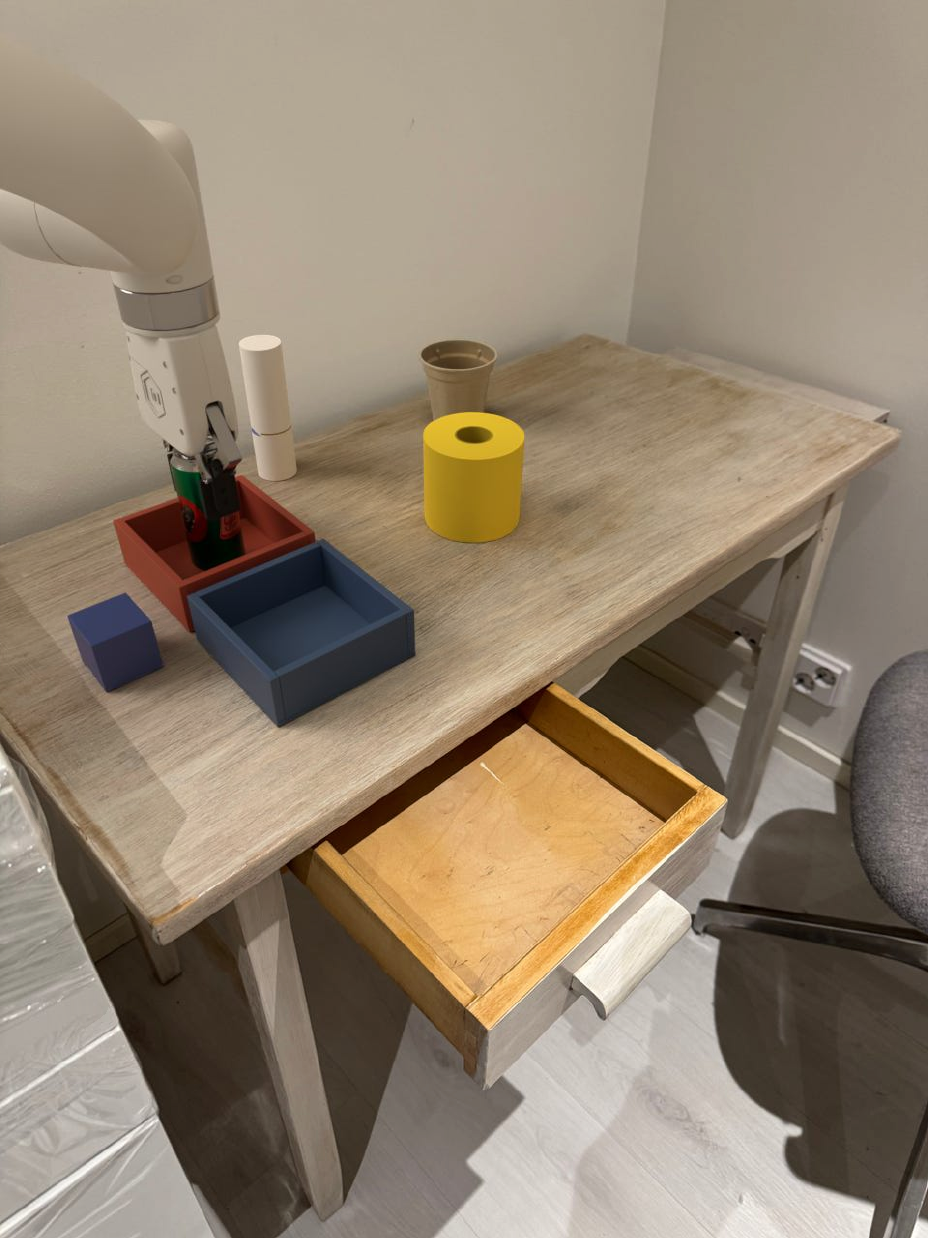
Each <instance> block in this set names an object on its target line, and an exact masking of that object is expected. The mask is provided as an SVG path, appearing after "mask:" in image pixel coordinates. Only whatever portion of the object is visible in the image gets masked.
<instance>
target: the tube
mask: <svg viewBox="0 0 928 1238" xmlns="http://www.w3.org/2000/svg"><path fill="white" fill-rule="evenodd" d="M238 350H239V356H240V362H241V369H242V376H243V382H244V389H245V394H246V401H247V408H248V415H249V421H250V426H251V427H250V428H251V435H252V440H253V447H254V448H253V449H254V453H255V461H256V467H257V473H258V476H259V478H261V479H263V480H264V481H269V482H281V481H285V480H288V479H290V478H292V477H294V476H295V475H296V474H297V471H298V469H297V461H296V451H295V445H294V436H293V428H292V420H291V419H292V418H291V412H290V411H291V410H290V403H289V395H288V387H287V378H286V371H285V370H286V369H285V362H284V354H283V347H282V339H280V338H279V337H278V336H276V335H272V334H255V335H254V334H253V335H249V336H246V337H243V338H242V339H240V340H239V342H238Z"/></svg>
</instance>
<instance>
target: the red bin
mask: <svg viewBox="0 0 928 1238" xmlns="http://www.w3.org/2000/svg"><path fill="white" fill-rule="evenodd" d="M235 480H236V486H237V492H238V498H239V503H240V509H239V517H240V523H241V529H242V535H243V541H244V546H245V555H244V556H242V557H239V558H237V559H234V560H232V561H229V562H227V563H224V564H222V565H219V566H217V567H215V568H212V569H210V570H207V571H205V572H204V571H202V570H200V569H199V568H197V567H196V566H195V565H193V563H192V561H191V557H190V552H189V547H188V543H187V538H186V534H185V529H184V524H183V520H182V515H181V511H180V506H179V502H178V497H175V498H173V499H169V500H167V501H164V502H161V503H158V504H156V505H152V506H150V507H146V508H144V509H141V510H138V511H135V512H133V513H129V514H128V515H127V514H126V515H125V516H122V517H119V518H116V519H113V520H112V522H113V526H114V530H115V533H116V536H117V540H118V544H119V548H120V551H121V554H122V558H123V561H124V562H123V563H124V564H125V565H126V567H128V569H129V570H130V571H131V572H132V573H133V574H134V575H135V576H136V577H137V579H139V581H140V582H141V583H142V584H143V585H144V586H145V587H146V588H147V589H148V590H149V591H150V592H151V593H152V594H153V595H154V597H156V599H157V600H158V601H159V602H160V603H161V604H162V605H163V606H164V608H166V609H167V610H168V612H169V613H170V614H171V615H172V616H173V617H174V618H175V619H176V620H177V621H178V622H179V624H181V625H182V627H183V628H184V629H185V630H186V631H187V632H188V633H193V632H195V629H194V625H193V620H192V616H191V612H190V607H189V603H188V599H187V596H188V595H190V594H193V593H196V592H197V591H200V590H202V589H204V588H207V587H209V586H212V585H214V584H216V583H219V582H221V581H224V580H226V579H228V578H231V577H233V576H236V575H238V574H240V573H243V572H245V571H247V570H250V569H252V568H255V567H257V566H259V565H262V564H264V563H267V562H269V561H271V560H274V559H276V558H279V557H281V556H283V555H286V554H288V553H290V552H293V551H295V550H298V549H300V548H302V547H305V546H307V545H310V544H312V543H314V542H317V540H316V532H315V530H313V529H312V528H310V527H309V526H308V525H306V524H305V523H304V521H301V520H300V519H299V518H298V517H296V516H295V515H294V514H292V513H291V512H290V511H289V510H288V509H286V508H285V507H284V506H282V505H281V504H280V503H279V502H277V501H276V500H274V499H273V498H272V497H271V496H270V495H269V494H267V493H266V492H264V491H263V490H262V489H261V488H259V487H258V486H257V485H256V484H254V483H253V482H252V481H251V480H249V479H248V478H247V477H246V476H244V475H243V474H240V475H237V476H235Z"/></svg>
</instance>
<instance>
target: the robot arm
mask: <svg viewBox="0 0 928 1238" xmlns="http://www.w3.org/2000/svg"><path fill="white" fill-rule="evenodd" d="M197 169H198V168H197V162H196V157H195V152H194V147H193V144H192V141H191V139H190V136H189V135H188V134H187V132H186V131H185V130H184V129H183V128H181V127H180V126H179V125H177V124H175V123H171V122H169V121H165V120H160V119H137V118H136V117H134V115H132V114H131V113H130V112H129V111H128V110H127V109H126V108H125V107H123V106H122V104H120V103H119V102H118V101H116V100H115V99H113V97H111V95H109V94H107V93H106V92H105V91H103V90H101V89H100V88H99V87H97V86H96V85H94V84H93V83H91V82H90V81H89V80H87V79H85V78H84V77H81V76H80V75H78V74H77V73H75V72H74V71H72V70H70V69H69V68H66V67H65V66H64V65H61V64H60V63H58V62H57V61H55V60H53V59H51V58H49V57H47V56H46V55H43V54H41V53H40V52H38V51H37V50H34V49H33V48H31V47H29V46H27V45H25V44H24V43H21V42H20V41H18V40H16V39H15V38H13V37H11V36H9V35H8V34H6V33H4V32H2V31H1V30H0V245H1V246H3V247H4V248H6V249H8V250H10V251H12V252H13V253H15V254H18V255H21V256H22V257H25V258H29V259H32V260H35V261H40V262H45V263H52V264H59V265H66V266H71V267H79V268H89V269H96V270H102V271H107V272H108V271H109V272H110V276H111V281H112V285H113V290H114V294H115V298H116V302H117V307H118V310H119V315H120V320H121V324H122V327H123V329H124V330H125V336H126V345H127V352H128V359H129V364H130V370H131V376H132V380H133V386H134V391H135V396H136V402H137V406H138V411H139V415H140V417H141V419H142V421H143V422H144V423H145V424H146V425H147V426H148V427H149V428H150V429H151V430H152V431H153V432H154V433H156V434H157V435H158V436H159V437H161V439H162V444H163V448H164V450H165V451H166V452H167V454H166V456H167V462H168V466H169V470H170V475H171V480H172V484H173V489H174V491H175V492H176V488H175V483H174V479H173V474H172V469H171V465H170V461H171V458H172V456H173V453H172V451H173V448H176V449H177V450H178V451H180V452H181V453H183V454H185V455H187V456H195V459H196V462H197V465H198V468H199V471H200V474H201V477H202V479H201V480H198V485H199V490H200V495H201V500H202V505H203V510H204V515H205V518H206V519H207V520H209V521H214V520H216V519H219V518H222V517H224V516H227V515H230V514H232V513H235V512H237V511H239V509H240V503H239V498H238V492H237V486H236V480H235V477H236V474H237V466H238V465H239V464H240V463H241V462H242V460H243V457H242V454H241V451H240V449H239V447H238V445H237V443H236V442H237V440H238V437H239V423H238V422H239V421H238V415H237V409H236V408H237V407H236V403H235V397H234V392H233V387H232V382H231V378H230V373H229V368H228V366H227V365H228V364H227V360H226V357H225V353H224V349H223V345H222V341H221V338H220V334H219V331H218V328H217V325H216V324H218V323H219V321H220V320H221V311H220V305H219V299H218V292H217V288H216V281H215V280H216V279H215V275H214V269H213V262H212V257H211V250H210V243H209V235H208V230H207V225H206V224H207V223H206V219H205V218H206V217H205V212H204V206H203V201H202V194H201V187H200V181H199V175H198V170H197ZM207 437H208V438H209V437H211V438H212V439H213V441H210V442H207V443H206V438H207ZM214 450H218V456H217V458H216V459H213V460H212V461H211V463H210V465H209V464H208V461H207V458H206V455H205V453H208V452H211V451H214Z"/></svg>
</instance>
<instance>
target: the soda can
mask: <svg viewBox="0 0 928 1238" xmlns="http://www.w3.org/2000/svg"><path fill="white" fill-rule="evenodd" d="M210 441H213V439H212V437H209V436H208V437H207V438H206V443H207V442H210ZM171 453H173V456H172V458H171V461H170V465H171V469H172V474H173V479H174V483H175V488H176V491H175V492H176V496H177V497H176V498H178V502H179V506H180V511H181V515H182V520H183V524H184V529H185V534H186V538H187V543H188V547H189V552H190V557H191V561H192V563H193V565H195V566H196V567H197V568H199V569H200V570H202V571H204V572H205V571H207V570H210V569H212V568H215V567H217V566H219V565H222V564H224V563H227V562H229V561H232V560H234V559H237V558H239V557H242V556H244V555H245V546H244V541H243V535H242V529H241V523H240V517H239V511H237V512H235V513H232V514H230V515H227V516H224V517H222V518H219V519H216V520H214V521H209V520H207V519H206V518H205V515H204V510H203V505H202V500H201V495H200V490H199V485H198V480H201V479H202V477H201V474H200V471H199V468H198V465H197V462H196V459H195V456H187V455H185V454H183V453H181V452H180V451H178V450H177V449H176V448H173V451H172V452H171ZM205 455H206V458H207V461H208V464H209V465H210V463H211V461H212V460H213V459H216V458H217V456H218V450H214V451H211V452H208V453H205Z"/></svg>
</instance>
